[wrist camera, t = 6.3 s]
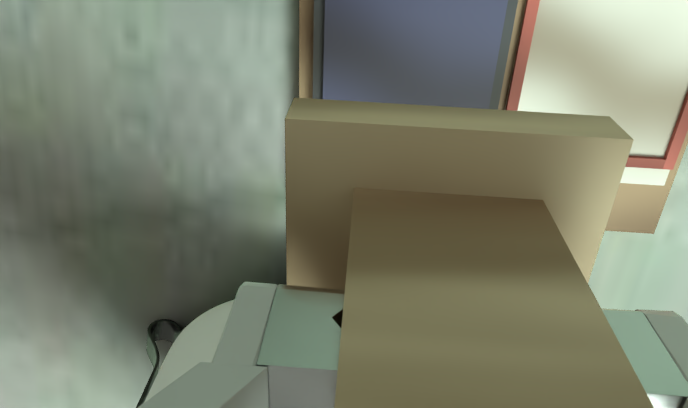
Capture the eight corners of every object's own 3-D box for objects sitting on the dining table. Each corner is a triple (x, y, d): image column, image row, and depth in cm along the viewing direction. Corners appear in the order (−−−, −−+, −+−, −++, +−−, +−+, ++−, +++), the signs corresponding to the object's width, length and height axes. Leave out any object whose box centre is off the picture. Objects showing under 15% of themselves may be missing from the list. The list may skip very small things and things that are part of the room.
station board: (303, -146, 18) (294, -151, 16) (764, -125, 18) (812, -127, 16) (302, 197, 25) (295, 223, 23) (642, 219, 24) (665, 248, 22)
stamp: (297, 88, 10) (200, 315, 4) (598, 105, 10) (864, 362, 4) (297, 318, 12) (235, 635, 7) (535, 334, 12) (654, 671, 7)
